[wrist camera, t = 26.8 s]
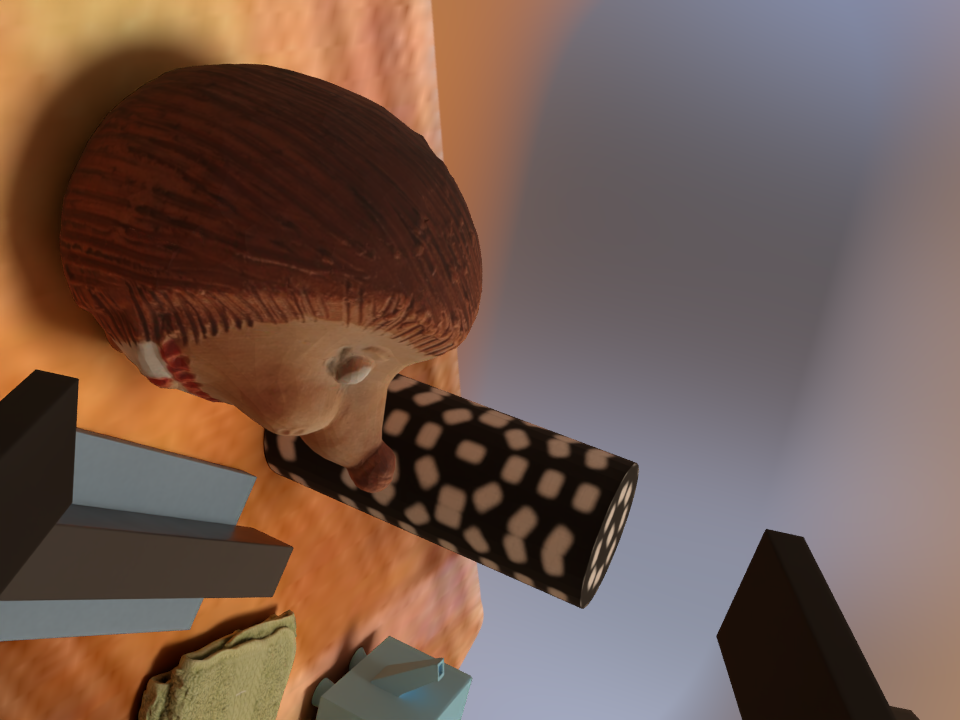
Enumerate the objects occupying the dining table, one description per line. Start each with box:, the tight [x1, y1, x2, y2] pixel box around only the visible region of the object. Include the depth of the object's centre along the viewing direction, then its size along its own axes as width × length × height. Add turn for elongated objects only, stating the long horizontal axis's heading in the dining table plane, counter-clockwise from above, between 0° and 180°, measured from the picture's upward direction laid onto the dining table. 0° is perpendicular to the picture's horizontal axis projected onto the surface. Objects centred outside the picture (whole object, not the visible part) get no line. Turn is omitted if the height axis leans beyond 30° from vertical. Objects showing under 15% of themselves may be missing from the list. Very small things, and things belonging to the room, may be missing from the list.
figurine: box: [59, 64, 482, 493], centre depth 35 cm, size 14×16×15 cm
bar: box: [0, 504, 293, 601], centre depth 40 cm, size 22×3×3 cm, turn 37°
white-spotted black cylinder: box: [264, 374, 639, 609], centre depth 51 cm, size 8×8×20 cm
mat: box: [0, 428, 257, 641], centre depth 41 cm, size 18×9×1 cm, turn 36°
